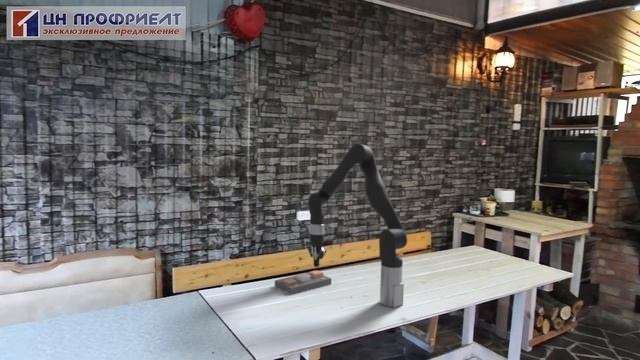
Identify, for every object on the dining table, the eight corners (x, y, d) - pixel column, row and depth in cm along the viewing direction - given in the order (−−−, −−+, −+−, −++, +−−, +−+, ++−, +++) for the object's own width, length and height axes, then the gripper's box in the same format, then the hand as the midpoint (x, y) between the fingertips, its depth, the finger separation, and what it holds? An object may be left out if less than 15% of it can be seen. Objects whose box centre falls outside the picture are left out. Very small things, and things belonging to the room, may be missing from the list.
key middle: (310, 281, 201) (310, 275, 200) (302, 283, 198) (302, 277, 197) (304, 279, 205) (304, 273, 204) (296, 281, 201) (296, 275, 201)
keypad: (331, 284, 203) (331, 277, 203) (291, 294, 188) (291, 288, 188) (313, 277, 214) (313, 271, 214) (274, 286, 199) (274, 280, 199)
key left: (297, 287, 196) (297, 280, 195) (288, 289, 193) (288, 283, 192) (291, 284, 200) (291, 278, 199) (282, 286, 196) (282, 280, 196)
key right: (323, 278, 206) (323, 272, 205) (315, 280, 203) (315, 274, 202) (316, 276, 210) (316, 270, 209) (309, 277, 206) (309, 272, 206)
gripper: (331, 234, 202) (330, 268, 203) (314, 229, 212) (314, 262, 213) (319, 235, 197) (318, 271, 198) (303, 230, 207) (302, 264, 209)
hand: (316, 266), depth 206 cm, fingers closed
